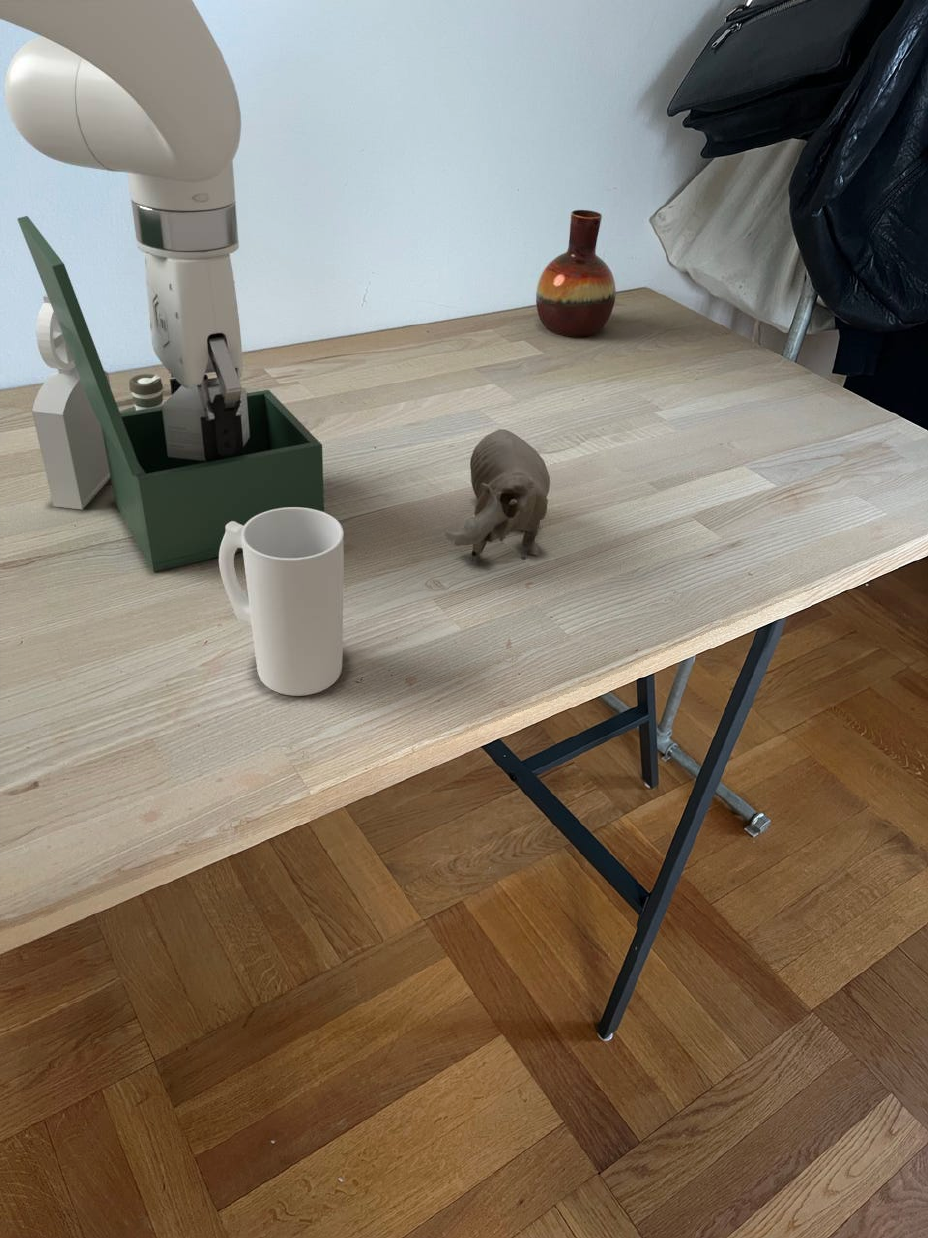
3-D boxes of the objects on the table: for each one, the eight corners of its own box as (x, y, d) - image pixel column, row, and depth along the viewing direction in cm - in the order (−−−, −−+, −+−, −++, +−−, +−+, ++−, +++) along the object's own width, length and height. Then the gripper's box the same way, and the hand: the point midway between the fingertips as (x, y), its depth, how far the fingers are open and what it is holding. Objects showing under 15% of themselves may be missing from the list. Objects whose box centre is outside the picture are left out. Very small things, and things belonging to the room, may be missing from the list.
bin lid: (27, 215, 70) (16, 217, 70) (63, 263, 62) (51, 266, 61) (102, 409, 81) (93, 412, 81) (142, 472, 73) (132, 476, 72)
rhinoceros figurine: (560, 472, 92) (555, 389, 77) (546, 603, 87) (538, 540, 73) (482, 468, 93) (464, 385, 79) (465, 596, 89) (442, 533, 75)
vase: (560, 345, 127) (575, 226, 118) (518, 318, 134) (529, 205, 125) (625, 336, 131) (644, 221, 122) (580, 311, 139) (596, 201, 130)
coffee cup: (74, 415, 100) (65, 371, 97) (177, 390, 107) (171, 349, 104) (123, 457, 93) (115, 412, 91) (229, 429, 100) (225, 385, 97)
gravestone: (123, 462, 93) (92, 280, 82) (82, 509, 85) (42, 314, 74) (97, 459, 93) (62, 276, 82) (53, 506, 85) (9, 311, 74)
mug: (363, 661, 70) (363, 525, 63) (311, 711, 66) (304, 571, 58) (257, 617, 74) (246, 484, 67) (200, 662, 69) (181, 524, 62)
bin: (274, 471, 93) (268, 389, 88) (325, 532, 85) (322, 444, 80) (115, 503, 86) (99, 416, 81) (153, 572, 78) (138, 479, 73)
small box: (251, 438, 83) (247, 386, 80) (231, 466, 79) (227, 412, 76) (189, 431, 83) (183, 379, 81) (166, 459, 79) (159, 404, 76)
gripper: (107, 201, 74) (137, 407, 85) (171, 261, 63) (197, 492, 73) (199, 196, 78) (217, 395, 88) (276, 253, 66) (287, 474, 76)
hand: (208, 438), depth 80 cm, fingers closed on small box, 7 cm apart
